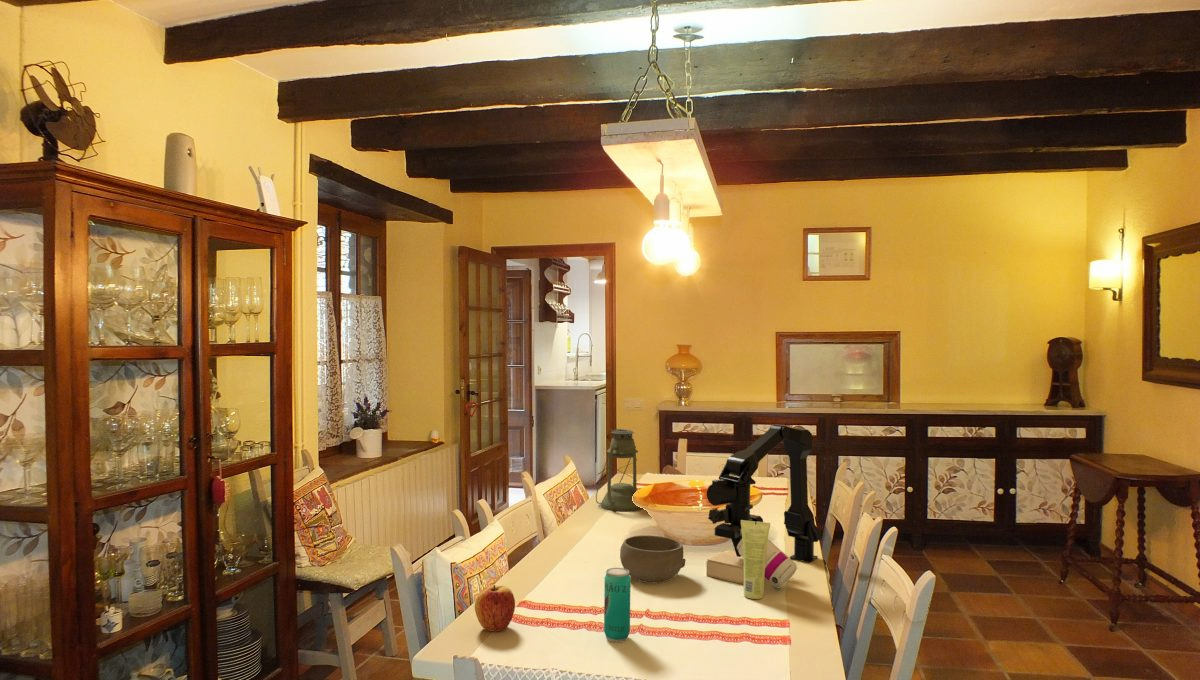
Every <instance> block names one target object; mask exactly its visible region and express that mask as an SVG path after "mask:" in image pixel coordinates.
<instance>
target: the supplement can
mask: <svg viewBox="0 0 1200 680" xmlns="http://www.w3.org/2000/svg"><path fill="white" fill-rule="evenodd" d="M737 549H738V552H739V554H740V555H741V556H742V557H743V539H741V541H740V542H739V543H738V545H737ZM797 569H798V567H797V563H796V562H794V560H793V559H790V556H788V555H786V553H784V551H782V550H781V549H780V548H779V547H777V545H776V544H774V543H773V542H772V541H771V540H770V539H769V538H768V542H767V551H766V562H765V575H764V577H765V578H766V579H765V580H767V581H768V582H769V583H770V584H771V586H772V585H773V587H774V588H775V589H777V588H779V589H781V588H783V587H784V586H785V585H786V584H787V583H788V581H790V580H791V578H793V576H794V575H795V573H796V572H797Z"/></svg>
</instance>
